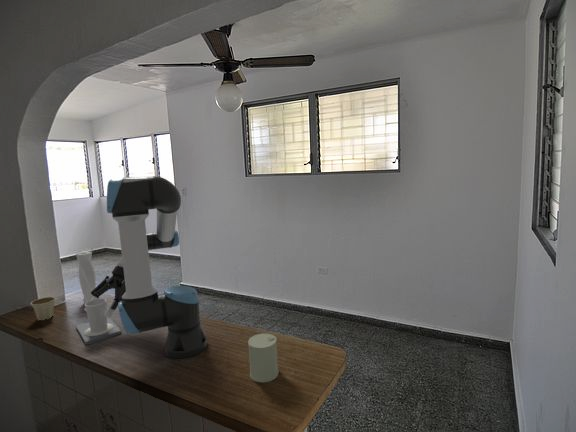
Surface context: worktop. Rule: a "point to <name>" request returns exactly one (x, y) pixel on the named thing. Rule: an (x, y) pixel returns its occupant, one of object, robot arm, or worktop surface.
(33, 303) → the flower pot
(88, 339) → the board
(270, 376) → the can
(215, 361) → the worktop surface
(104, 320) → the cup
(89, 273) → the skyscraper
